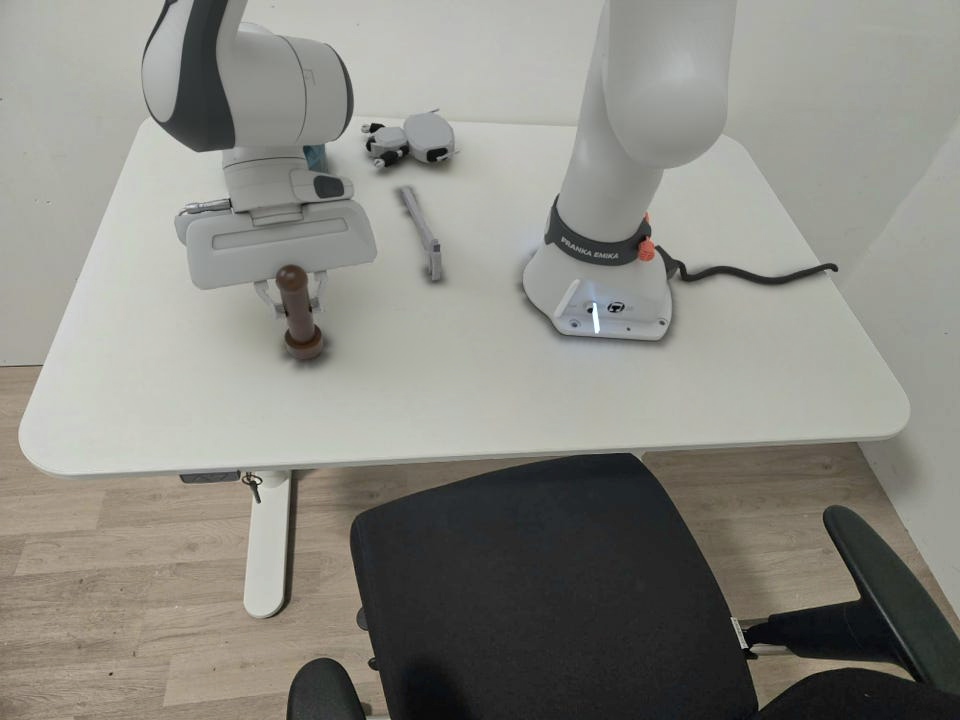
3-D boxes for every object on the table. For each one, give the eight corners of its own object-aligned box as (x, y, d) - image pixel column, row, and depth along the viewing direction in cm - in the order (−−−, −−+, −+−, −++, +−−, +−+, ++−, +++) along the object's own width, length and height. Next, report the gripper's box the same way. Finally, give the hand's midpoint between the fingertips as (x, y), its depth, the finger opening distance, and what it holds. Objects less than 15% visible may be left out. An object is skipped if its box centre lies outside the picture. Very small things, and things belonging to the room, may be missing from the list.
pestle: (327, 335, 73) (316, 259, 62) (316, 362, 71) (302, 288, 60) (294, 327, 73) (277, 250, 62) (281, 355, 71) (261, 279, 60)
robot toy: (376, 184, 94) (462, 169, 98) (373, 160, 90) (464, 146, 94) (359, 138, 100) (442, 126, 104) (356, 115, 97) (442, 103, 100)
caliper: (439, 282, 83) (443, 250, 78) (432, 283, 82) (435, 251, 77) (407, 190, 93) (408, 157, 88) (400, 190, 93) (401, 157, 88)
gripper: (164, 202, 57) (199, 337, 60) (366, 178, 63) (389, 301, 67) (174, 208, 63) (206, 330, 66) (358, 185, 69) (380, 298, 72)
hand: (299, 315), depth 66 cm, fingers closed on pestle, 3 cm apart
